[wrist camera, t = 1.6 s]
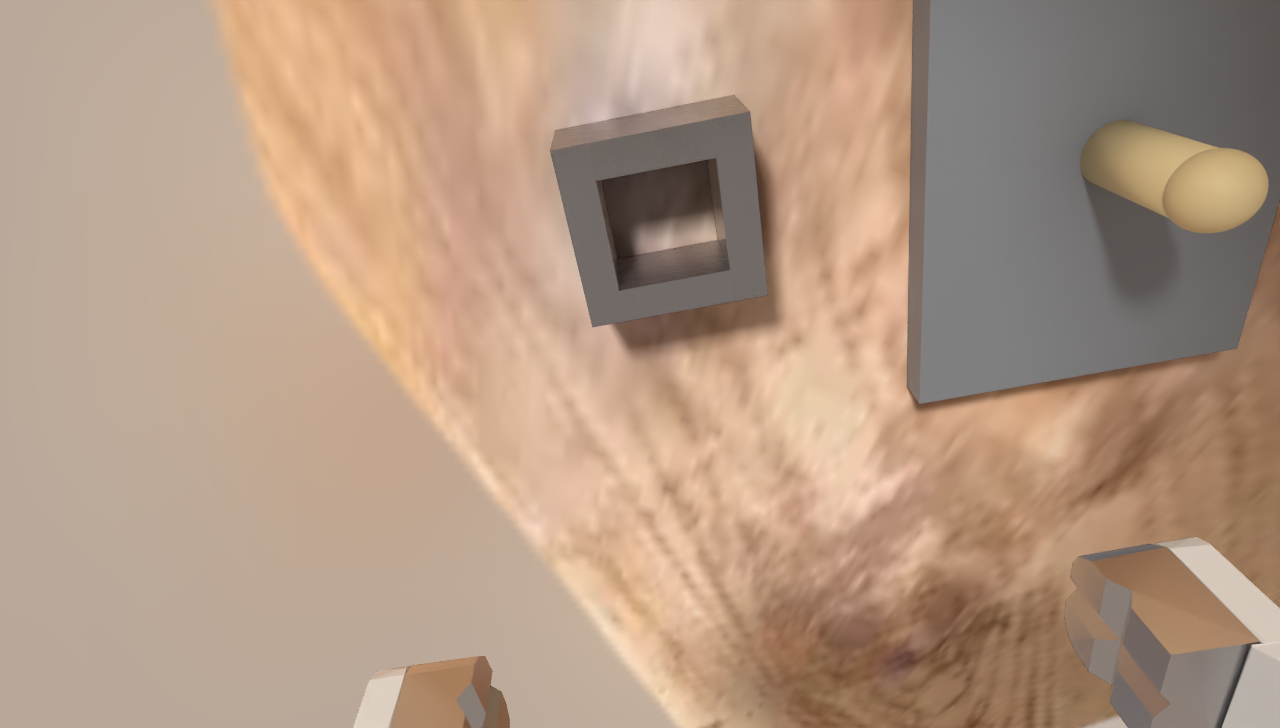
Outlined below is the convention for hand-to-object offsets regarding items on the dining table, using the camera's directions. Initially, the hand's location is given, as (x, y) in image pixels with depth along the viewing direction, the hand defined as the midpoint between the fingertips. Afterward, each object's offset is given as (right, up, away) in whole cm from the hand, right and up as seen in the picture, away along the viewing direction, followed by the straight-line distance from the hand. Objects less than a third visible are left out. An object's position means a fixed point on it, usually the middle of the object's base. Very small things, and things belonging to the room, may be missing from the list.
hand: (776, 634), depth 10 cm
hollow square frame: (-1, +10, +18) cm, 21 cm away
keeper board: (+16, +12, +18) cm, 27 cm away
